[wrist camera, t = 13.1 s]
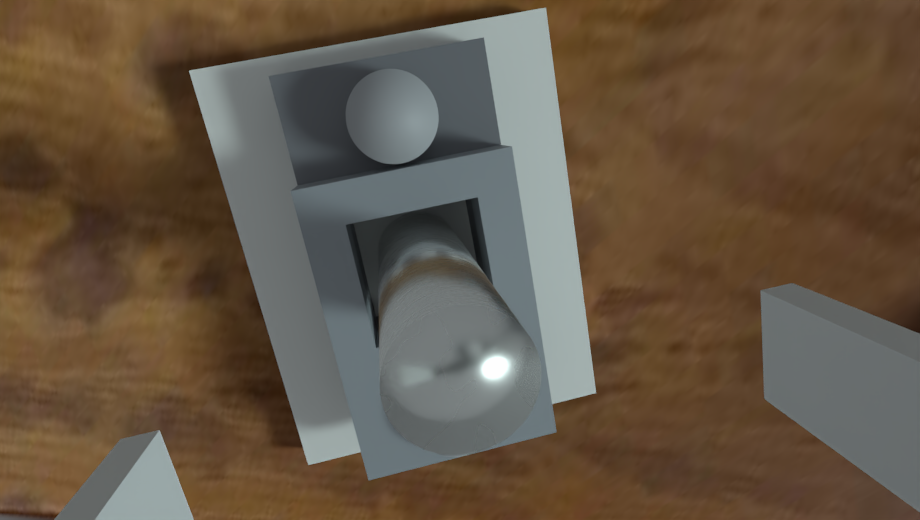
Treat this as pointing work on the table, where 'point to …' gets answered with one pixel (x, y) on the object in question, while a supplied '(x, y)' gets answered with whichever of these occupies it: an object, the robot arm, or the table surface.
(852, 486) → the table surface
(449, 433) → the pin
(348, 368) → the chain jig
